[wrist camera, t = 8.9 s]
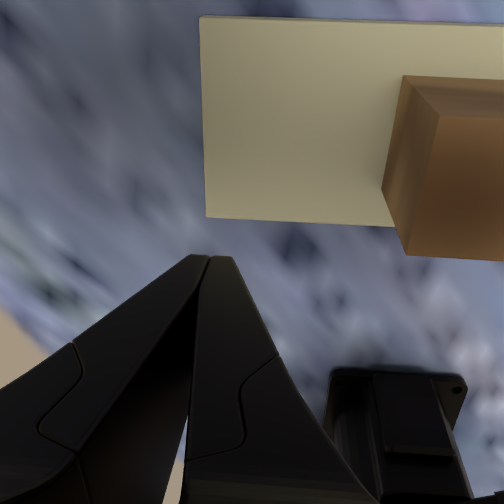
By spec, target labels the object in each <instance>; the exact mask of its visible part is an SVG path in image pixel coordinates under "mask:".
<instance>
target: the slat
mask: <svg viewBox="0 0 504 504" xmlns="http://www.w3.org/2000/svg"><path fill="white" fill-rule="evenodd" d="M381 191H382V193H383V196H384V199H385V201H386V204H387V206H388V209H389V212H390V214H391V217H392V220H393V222H394V225H395V228H396V230H397V233H398V235H399V238H400V241H401V243H402V246H403V249H404V251H405V254H406V255H410V256H426V257H442V258H457V259H473V260H489V261H504V80H495V79H475V78H454V77H433V76H412V75H403V77H402V82H401V87H400V93H399V98H398V103H397V108H396V114H395V119H394V124H393V129H392V135H391V140H390V145H389V150H388V155H387V161H386V166H385V171H384V176H383V182H382V187H381Z"/></svg>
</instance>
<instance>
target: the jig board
mask: <svg viewBox="0 0 504 504" xmlns="http://www.w3.org/2000/svg"><path fill="white" fill-rule="evenodd" d="M199 33H200V61H201V90H202V118H203V147H204V175H205V203H206V217H208V218H227V219H247V220H267V221H287V222H307V223H326V224H346V225H366V226H386V227H395V225H394V222H393V220H392V217H391V214H390V212H389V209H388V206H387V204H386V201H385V199H384V196H383V193H382V191H381V187H382V182H383V176H384V171H385V166H386V161H387V155H388V150H389V145H390V140H391V135H392V129H393V124H394V119H395V114H396V108H397V103H398V98H399V93H400V87H401V82H402V77H403V75H412V76H433V77H454V78H475V79H495V80H504V24H483V23H450V22H417V21H383V20H350V19H316V18H283V17H250V16H216V15H202V16H201V17H200V18H199Z"/></svg>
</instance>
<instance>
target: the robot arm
mask: <svg viewBox="0 0 504 504" xmlns="http://www.w3.org/2000/svg"><path fill="white" fill-rule="evenodd" d="M338 379H343V380H338ZM457 386H458V387H457ZM467 391H468V388H467V385H466V383H465V381H464V379H463V378H461V377H457V376H441V375H426V374H411V373H395V372H380V371H364V370H349V369H337V370H334V371H333V372H332V373H331V374H330V378H329V385H328V391H327V398H326V405H325V411H324V418H323V425H322V427H321V425H320V424H319V422H318V421H317V419H316V418H315V416H314V415H313V413H312V412H311V410H310V409H309V407H308V406H307V404H306V403H305V401H304V399H303V398H302V396H301V395H300V393H299V392H298V390H297V388H296V386H295V384H294V382H293V380H292V379H291V377H290V375H289V373H288V371H287V369H286V367H285V365H284V363H283V361H282V359H281V357H279V353H278V351H277V349H276V347H275V344H274V342H273V340H272V338H271V336H270V334H269V332H268V330H267V328H266V326H265V324H264V322H263V319H262V317H261V315H260V313H259V311H258V309H257V307H256V305H255V303H254V301H253V299H252V297H251V294H250V292H249V290H248V288H247V286H246V284H245V282H244V280H243V278H242V276H241V274H240V271H239V269H238V267H237V265H236V263H235V261H234V259H233V258H232V257H230V256H212V257H211V258H210V256H208V255H197V254H190V255H188V256H186V257H185V258H184V259H182V260H181V261H180V262H178V263H177V264H176V265H174V266H173V267H171V268H170V269H169V270H167V271H166V272H165V273H163V274H162V275H160V276H159V277H158V278H156V279H155V280H154V281H152V282H151V283H150V284H148V285H147V286H145V287H144V288H143V289H141V290H140V291H139V292H137V293H136V294H135V295H133V296H132V297H130V298H129V299H128V300H126V301H125V302H124V303H122V304H121V305H120V306H118V307H117V308H115V309H114V310H113V311H111V312H110V313H109V314H107V315H106V316H105V317H103V318H102V319H100V320H99V321H98V322H96V323H95V324H94V325H92V326H91V327H90V328H88V329H87V330H85V331H84V332H83V333H81V334H80V335H79V336H77V337H76V338H75V339H73V340H72V343H71V342H69V343H67V344H66V345H65V346H63V347H62V348H61V349H59V350H58V351H56V352H55V353H54V354H52V355H51V356H49V357H48V358H47V359H45V360H44V361H42V362H41V363H39V364H38V365H37V366H35V367H34V368H32V369H31V370H29V371H28V372H26V373H25V374H23V375H22V376H20V377H19V378H17V379H15V380H14V381H12V382H11V383H9V384H8V385H6V386H5V387H3V388H1V389H0V504H162V503H163V499H164V496H165V492H166V489H167V485H168V482H169V478H170V475H171V472H172V468H173V465H174V461H175V458H176V454H177V451H178V447H179V444H180V440H181V437H182V434H183V430H184V427H185V423H186V420H187V416H188V422H187V434H186V446H185V458H184V471H183V481H182V489H181V496H180V501H179V504H504V490H503V491H498V492H494V493H495V495H491V496H485V497H480V498H474V495H473V492H472V489H471V486H470V483H469V480H468V477H467V474H466V471H465V468H464V465H463V462H462V459H461V456H460V453H459V450H458V447H457V445H456V442H455V439H454V436H453V433H452V431H453V428H454V426H455V423H456V420H457V418H458V415H459V412H460V410H461V407H462V404H463V402H464V399H465V396H466V394H467Z"/></svg>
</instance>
